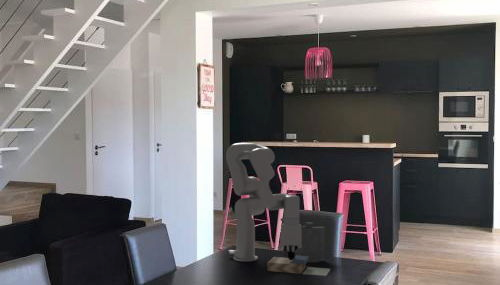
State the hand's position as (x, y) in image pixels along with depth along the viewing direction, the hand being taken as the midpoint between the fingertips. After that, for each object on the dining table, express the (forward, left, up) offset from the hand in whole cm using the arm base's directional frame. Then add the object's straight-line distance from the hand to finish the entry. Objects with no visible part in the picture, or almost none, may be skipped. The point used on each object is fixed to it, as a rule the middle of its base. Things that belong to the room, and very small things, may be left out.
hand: (291, 259), depth 258 cm
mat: (+12, 0, -5) cm, 13 cm away
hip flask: (+5, +19, -5) cm, 20 cm away
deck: (-2, 0, -5) cm, 5 cm away
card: (+4, 0, -1) cm, 5 cm away
